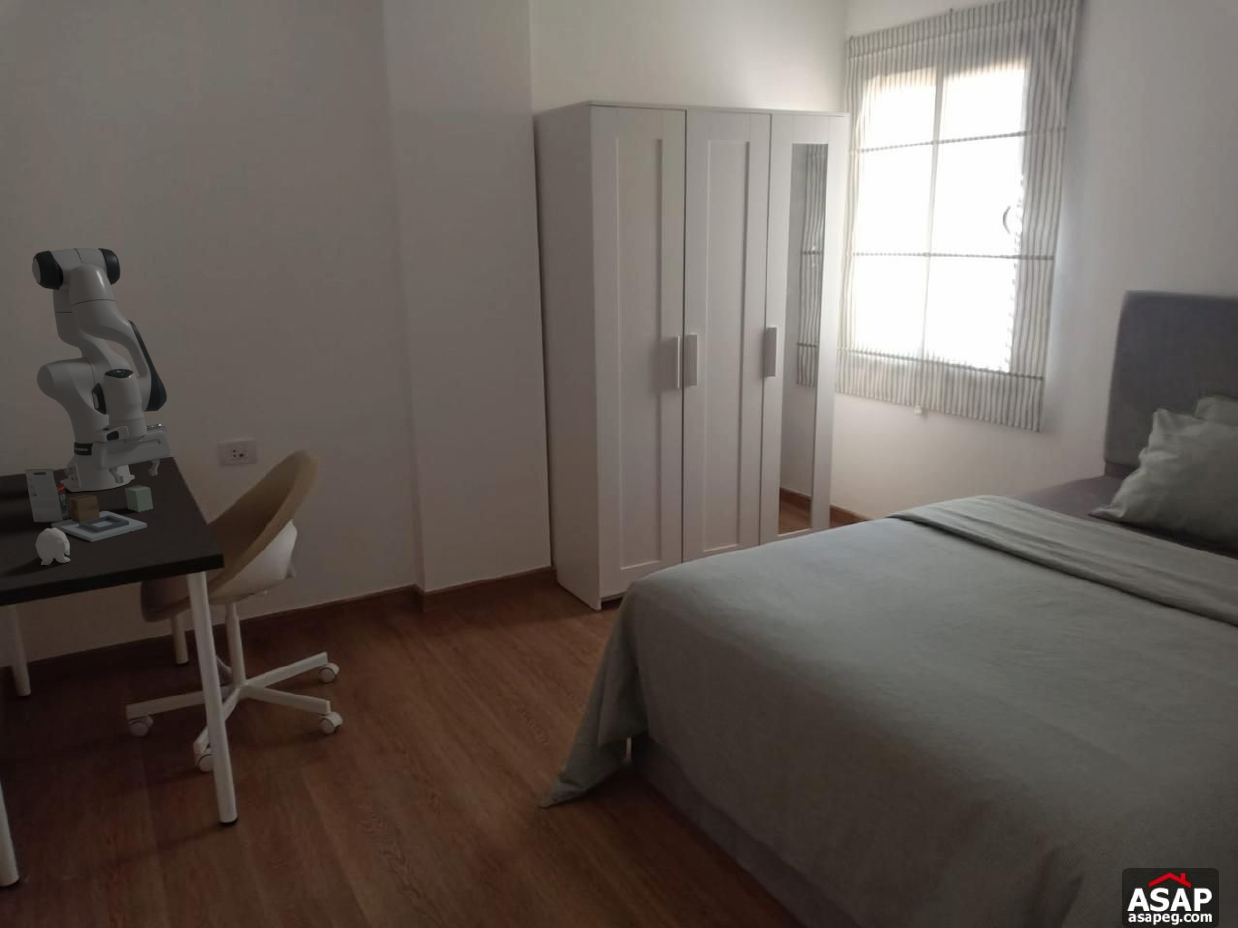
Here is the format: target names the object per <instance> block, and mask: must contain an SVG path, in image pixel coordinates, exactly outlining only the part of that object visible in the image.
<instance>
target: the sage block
mask: <svg viewBox="0 0 1238 928" xmlns="http://www.w3.org/2000/svg"><path fill="white" fill-rule="evenodd" d="M124 490H125V497H126V498H125V499H126V503H127V509H128V510H130V509H131V511H133V510H134V512H137V513H142V512H145V510H146V511H149V509H150V510H153V509H154V505H153V499H152V498H153V497H152V491H151V488H150V487H148V486H144V485H141V484H137V485H133V486H129V487H125V488H124ZM141 511H142V512H141Z"/></svg>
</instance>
